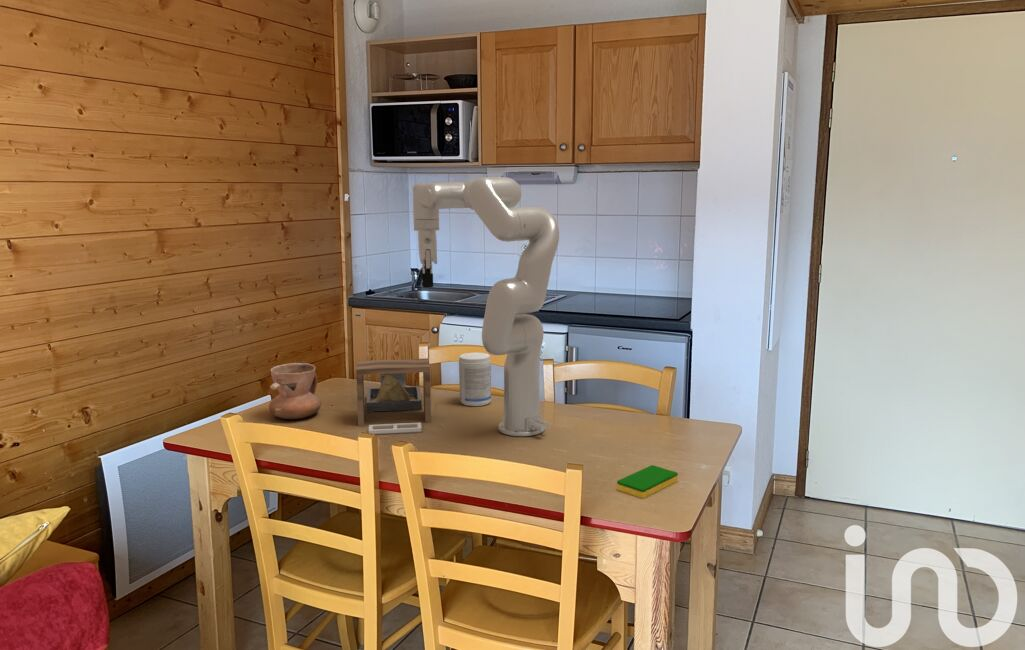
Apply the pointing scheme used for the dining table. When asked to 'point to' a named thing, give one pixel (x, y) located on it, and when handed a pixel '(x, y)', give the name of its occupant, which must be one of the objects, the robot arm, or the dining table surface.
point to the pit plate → (395, 428)
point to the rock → (392, 390)
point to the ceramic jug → (294, 391)
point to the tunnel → (389, 368)
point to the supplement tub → (475, 379)
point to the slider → (398, 403)
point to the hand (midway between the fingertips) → (427, 286)
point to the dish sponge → (647, 481)
